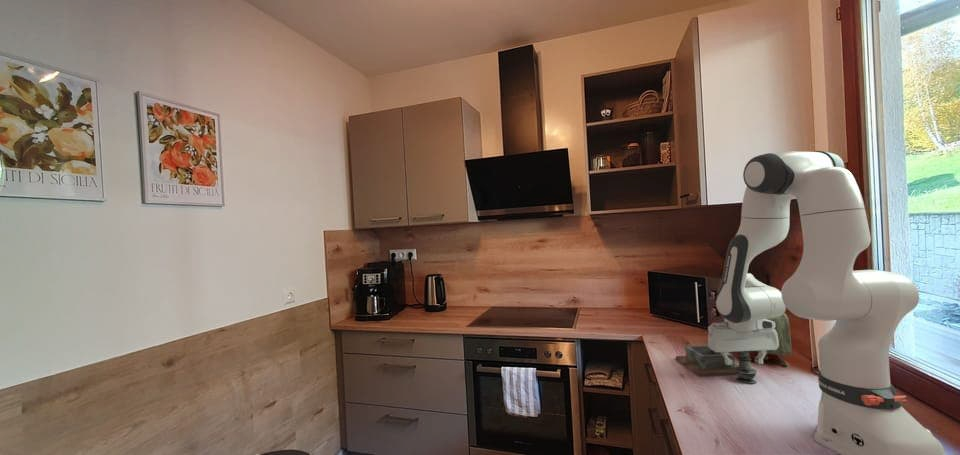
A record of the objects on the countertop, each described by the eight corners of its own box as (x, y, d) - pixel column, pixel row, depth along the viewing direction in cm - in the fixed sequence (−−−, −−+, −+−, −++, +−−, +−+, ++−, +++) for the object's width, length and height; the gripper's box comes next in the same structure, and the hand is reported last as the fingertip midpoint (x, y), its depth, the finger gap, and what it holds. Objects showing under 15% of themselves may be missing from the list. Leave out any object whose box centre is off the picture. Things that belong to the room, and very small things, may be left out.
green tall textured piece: (793, 369, 119) (787, 296, 120) (760, 365, 124) (754, 295, 125) (784, 355, 132) (778, 289, 132) (754, 352, 137) (748, 288, 137)
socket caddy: (748, 374, 118) (746, 357, 118) (699, 376, 119) (697, 359, 119) (718, 357, 134) (717, 342, 134) (676, 359, 135) (674, 344, 135)
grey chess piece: (749, 377, 116) (746, 340, 116) (762, 384, 110) (758, 346, 110) (730, 377, 117) (727, 341, 117) (742, 385, 111) (739, 347, 111)
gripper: (713, 325, 111) (716, 369, 111) (780, 322, 110) (784, 366, 110) (702, 320, 118) (705, 361, 118) (765, 317, 116) (768, 358, 116)
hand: (743, 363), depth 114 cm, fingers open, 8 cm apart
